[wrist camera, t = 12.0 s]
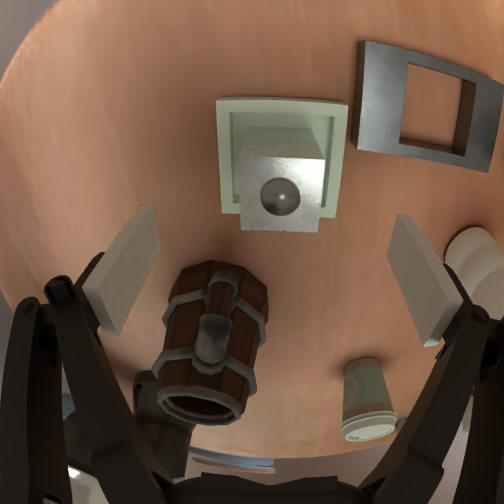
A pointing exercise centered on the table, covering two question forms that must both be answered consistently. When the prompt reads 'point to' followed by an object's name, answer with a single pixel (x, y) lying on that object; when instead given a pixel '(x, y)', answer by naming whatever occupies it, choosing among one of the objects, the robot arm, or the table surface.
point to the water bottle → (479, 269)
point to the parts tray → (286, 116)
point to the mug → (211, 343)
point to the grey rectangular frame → (392, 103)
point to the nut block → (280, 180)
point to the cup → (468, 414)
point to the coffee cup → (366, 402)
